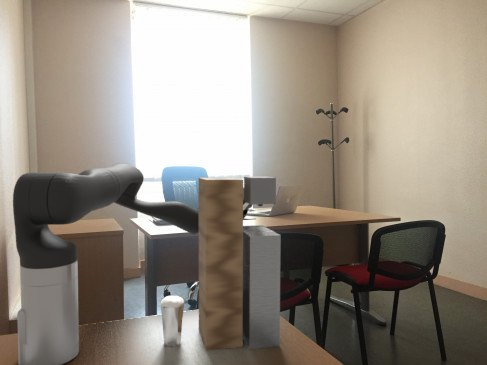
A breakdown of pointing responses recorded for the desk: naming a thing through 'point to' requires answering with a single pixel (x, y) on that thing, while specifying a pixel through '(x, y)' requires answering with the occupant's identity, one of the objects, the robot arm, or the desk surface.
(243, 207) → the robot arm
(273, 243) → the tall grey pillar
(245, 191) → the block
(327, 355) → the desk surface
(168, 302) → the milkshake
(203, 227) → the walnut stand
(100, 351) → the desk surface
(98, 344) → the desk surface
